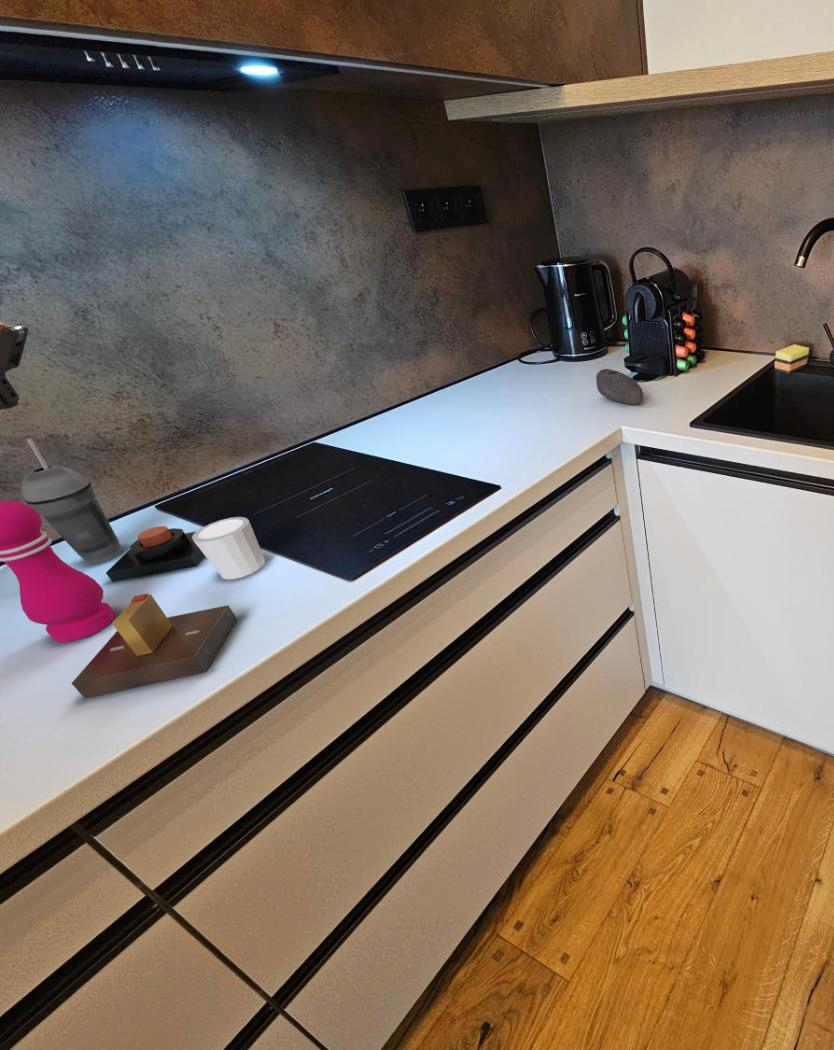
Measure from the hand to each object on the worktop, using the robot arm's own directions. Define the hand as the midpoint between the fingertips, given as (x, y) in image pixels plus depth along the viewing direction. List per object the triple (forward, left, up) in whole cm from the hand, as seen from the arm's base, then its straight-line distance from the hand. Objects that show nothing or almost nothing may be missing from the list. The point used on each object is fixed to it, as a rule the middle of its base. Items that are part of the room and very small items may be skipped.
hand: (7, 407), depth 74 cm
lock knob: (+15, -23, -24) cm, 37 cm away
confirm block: (+4, +4, -27) cm, 27 cm away
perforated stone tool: (+83, +44, -27) cm, 98 cm away
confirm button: (+4, +4, -23) cm, 24 cm away
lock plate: (+15, -23, -27) cm, 38 cm away
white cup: (+17, -4, -27) cm, 32 cm away
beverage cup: (-7, +9, -27) cm, 29 cm away
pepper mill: (+1, -12, -27) cm, 29 cm away
